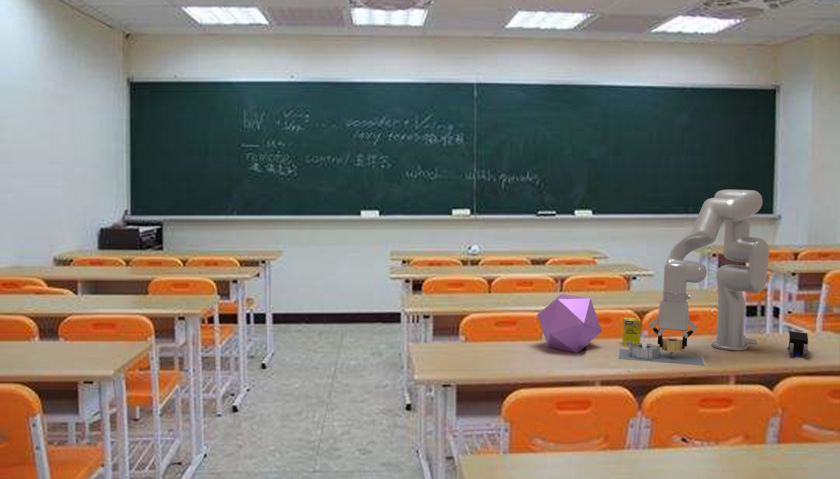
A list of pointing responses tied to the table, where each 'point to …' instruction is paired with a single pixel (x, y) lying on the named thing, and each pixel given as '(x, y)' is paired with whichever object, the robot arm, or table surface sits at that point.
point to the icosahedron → (569, 323)
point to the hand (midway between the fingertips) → (672, 347)
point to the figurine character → (798, 343)
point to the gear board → (666, 357)
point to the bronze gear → (672, 345)
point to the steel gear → (644, 351)
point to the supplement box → (631, 331)
